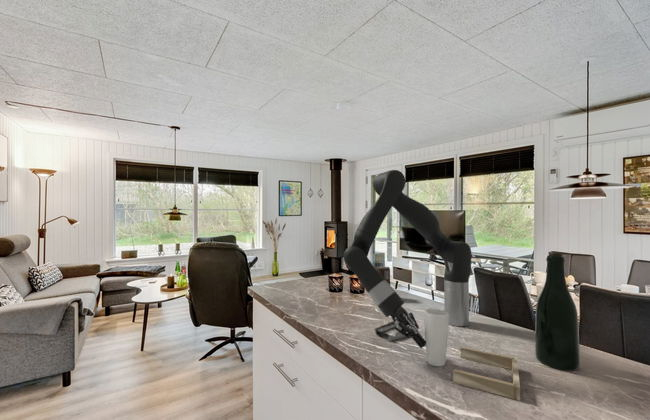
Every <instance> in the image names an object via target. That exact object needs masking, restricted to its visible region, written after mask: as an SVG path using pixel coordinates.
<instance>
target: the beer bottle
mask: <svg viewBox="0 0 650 420" xmlns="http://www.w3.org/2000/svg"><path fill="white" fill-rule="evenodd" d="M545 260H546V278H545V282H544V285H543V288H542V290H541V292H540V295H539V296H538V298H537V300H536V301H537V302H536V305H535V322H534V324H535V326H534V327H535V328H534V329H535V330H534V331H535V332H534V352H535V353H534V355H535V358H536V359H537V360H538V362H540V363H542V364H543V365H546V366H547V367H551V368H554V369H558V370H561V371H575V370H578V369H579V368H580V362H581V361H580V359H581V358H580V357H581V356H580V355H581V354H580V334H579V331H580V330H579V316H578V310H577V305H576V303H575V300H574V298H573V297H572V295H571V292H570V290H569V287H568V284H567V279H566V271H565V270H566V269H565V267H566V265H565V263H566V259H565V256H563V252H561V251H548V254H547V256H546V259H545Z"/></svg>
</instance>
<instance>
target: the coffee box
mask: <svg viewBox="0 0 650 420" xmlns="http://www.w3.org/2000/svg"><path fill="white" fill-rule="evenodd" d="M373 267H374V268H375V269H376V270H377V271H378V272H379V273H380V275H381V276H382V277H383V278H384V279H385V281H386V282H387V283H389V284H390V285H391V268H390V267H389V266H373Z"/></svg>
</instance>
